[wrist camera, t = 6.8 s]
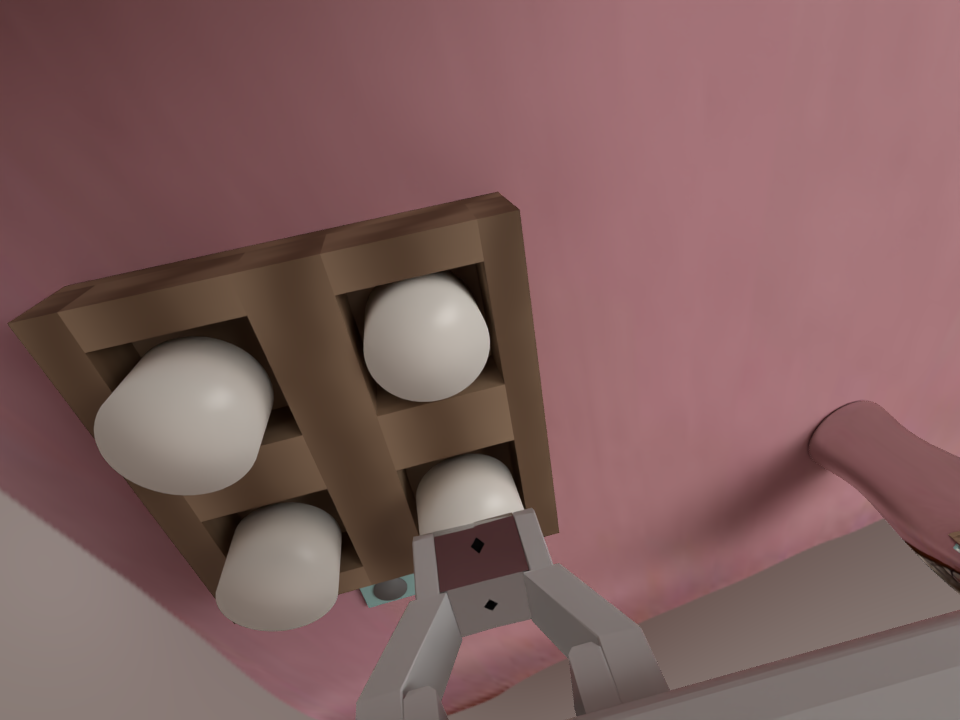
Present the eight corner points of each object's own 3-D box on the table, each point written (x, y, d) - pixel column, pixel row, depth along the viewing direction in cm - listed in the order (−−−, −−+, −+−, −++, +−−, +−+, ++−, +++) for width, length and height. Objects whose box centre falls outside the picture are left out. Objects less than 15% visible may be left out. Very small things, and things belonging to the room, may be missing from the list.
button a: (465, 252, 23) (478, 276, 20) (484, 352, 26) (498, 385, 23) (349, 278, 23) (346, 307, 20) (381, 377, 26) (383, 414, 23)
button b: (243, 322, 20) (221, 361, 17) (292, 426, 23) (280, 474, 20) (105, 354, 20) (59, 400, 17) (172, 455, 23) (143, 510, 20)
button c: (506, 442, 26) (523, 487, 23) (519, 513, 29) (535, 560, 26) (405, 469, 26) (409, 518, 23) (428, 538, 29) (434, 589, 26)
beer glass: (788, 470, 38) (1001, 667, 25) (826, 396, 34) (1094, 578, 22) (860, 465, 39) (1097, 648, 26) (903, 393, 36) (1198, 562, 23)
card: (458, 519, 33) (459, 525, 33) (473, 573, 36) (474, 579, 36) (344, 551, 33) (343, 557, 32) (369, 602, 36) (369, 609, 35)
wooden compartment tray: (497, 191, 23) (519, 209, 20) (540, 487, 33) (559, 532, 30) (65, 286, 22) (7, 323, 18) (249, 566, 32) (234, 623, 28)
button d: (322, 490, 25) (316, 542, 22) (354, 558, 28) (352, 612, 25) (214, 519, 25) (193, 576, 22) (258, 584, 28) (244, 642, 25)
